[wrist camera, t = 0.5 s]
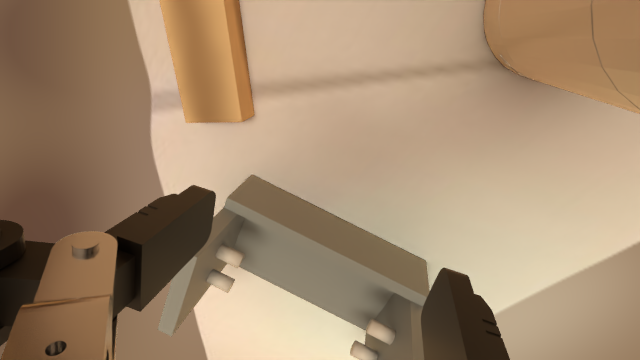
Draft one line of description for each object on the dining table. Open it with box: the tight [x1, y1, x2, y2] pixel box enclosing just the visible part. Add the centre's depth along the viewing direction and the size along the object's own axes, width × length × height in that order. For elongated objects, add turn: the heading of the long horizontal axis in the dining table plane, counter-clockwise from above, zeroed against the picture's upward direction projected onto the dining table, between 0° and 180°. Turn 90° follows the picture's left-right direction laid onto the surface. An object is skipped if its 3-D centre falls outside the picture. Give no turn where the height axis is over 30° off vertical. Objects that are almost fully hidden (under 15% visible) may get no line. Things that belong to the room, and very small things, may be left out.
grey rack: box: [158, 175, 430, 360], centre depth 28 cm, size 10×18×11 cm, turn 67°
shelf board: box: [160, 0, 254, 123], centre depth 26 cm, size 5×14×3 cm, turn 4°
